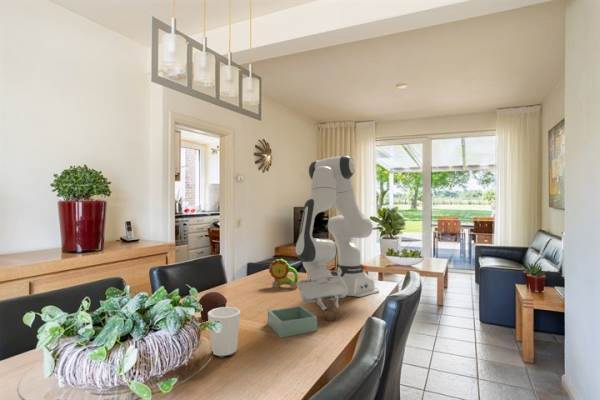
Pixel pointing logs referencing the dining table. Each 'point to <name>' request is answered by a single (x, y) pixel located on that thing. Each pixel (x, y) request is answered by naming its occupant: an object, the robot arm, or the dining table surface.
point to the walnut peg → (330, 309)
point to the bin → (292, 321)
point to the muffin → (211, 303)
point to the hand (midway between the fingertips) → (331, 308)
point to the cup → (225, 330)
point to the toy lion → (282, 274)
